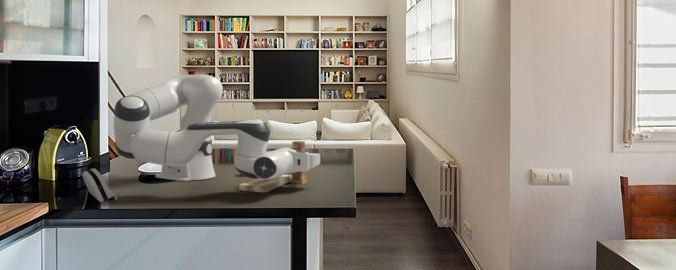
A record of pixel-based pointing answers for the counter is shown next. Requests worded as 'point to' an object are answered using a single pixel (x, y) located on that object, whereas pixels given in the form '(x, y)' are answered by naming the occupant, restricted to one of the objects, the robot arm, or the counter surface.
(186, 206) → the counter surface
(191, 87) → the robot arm
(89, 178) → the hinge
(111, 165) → the counter surface
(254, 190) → the board
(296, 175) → the brown wooden block tower
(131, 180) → the counter surface
